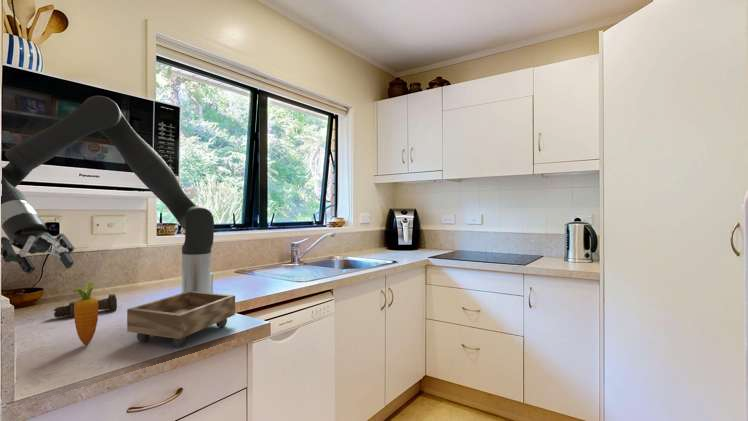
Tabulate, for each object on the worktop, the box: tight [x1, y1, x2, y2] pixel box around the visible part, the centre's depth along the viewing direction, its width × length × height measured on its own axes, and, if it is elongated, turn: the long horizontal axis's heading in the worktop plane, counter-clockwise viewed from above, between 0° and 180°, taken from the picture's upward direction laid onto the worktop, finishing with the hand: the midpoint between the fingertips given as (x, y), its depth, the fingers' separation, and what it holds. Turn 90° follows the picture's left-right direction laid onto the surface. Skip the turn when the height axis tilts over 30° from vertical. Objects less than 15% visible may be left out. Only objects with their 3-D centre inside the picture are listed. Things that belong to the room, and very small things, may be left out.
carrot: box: [73, 282, 99, 346], centre depth 89 cm, size 5×5×15 cm
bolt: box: [53, 293, 118, 319], centre depth 113 cm, size 6×5×15 cm
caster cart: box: [126, 291, 236, 348], centre depth 98 cm, size 20×16×8 cm
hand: (52, 268), depth 92 cm, fingers open, 8 cm apart
